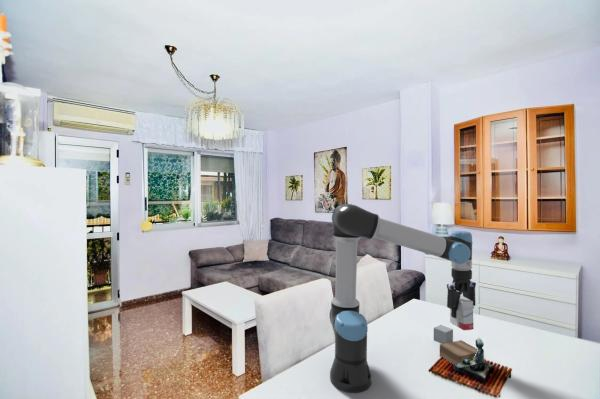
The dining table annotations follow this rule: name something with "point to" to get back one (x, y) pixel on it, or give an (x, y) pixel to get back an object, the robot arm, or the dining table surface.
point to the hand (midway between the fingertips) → (461, 323)
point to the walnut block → (457, 351)
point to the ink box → (465, 313)
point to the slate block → (443, 334)
